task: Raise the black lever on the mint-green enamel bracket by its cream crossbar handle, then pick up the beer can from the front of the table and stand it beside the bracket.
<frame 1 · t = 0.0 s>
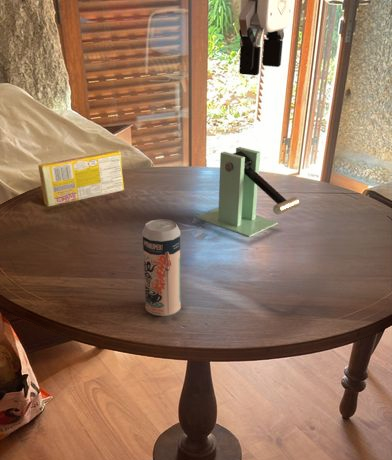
hand: (260, 70, 94), 24 cm above the table, tool pointing down, fingers open, 9 cm apart
candy box: (85, 202, 110), on the table
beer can: (163, 310, 77), on the table
bracket: (236, 225, 101), on the table
lever: (261, 183, 93), point 9 cm above the table, hinge at -25.0°
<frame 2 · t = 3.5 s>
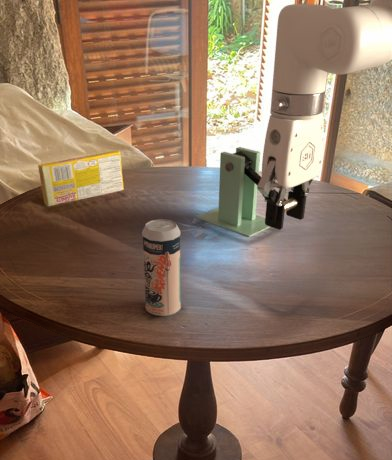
hand: (284, 220, 93), 4 cm above the table, tool pointing down, fingers closed on lever, 5 cm apart
lever: (261, 183, 93), point 9 cm above the table, hinge at -25.0°, touching gripper
everything else where it was.
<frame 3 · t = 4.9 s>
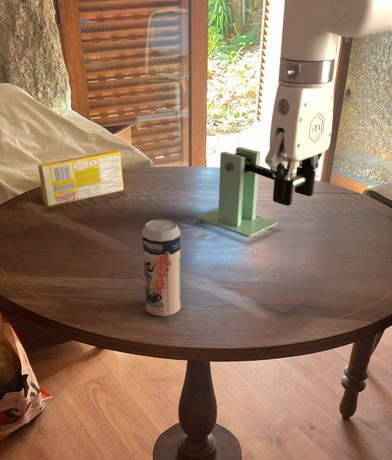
hand: (293, 197, 90), 8 cm above the table, tool pointing down, fingers closed on lever, 5 cm apart
lever: (264, 172, 92), point 11 cm above the table, hinge at -3.2°, touching gripper
everything else where it was.
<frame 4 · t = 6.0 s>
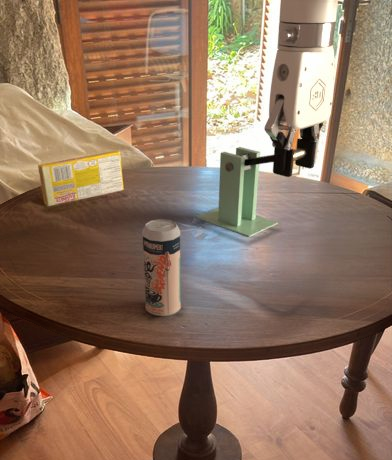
hand: (293, 169, 88), 12 cm above the table, tool pointing down, fingers closed on lever, 5 cm apart
lever: (264, 159, 91), point 13 cm above the table, hinge at 18.3°, touching gripper
everything else where it was.
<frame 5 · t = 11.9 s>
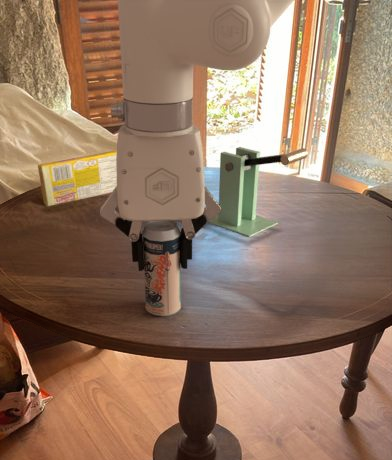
hand: (162, 263, 73), 7 cm above the table, tool pointing down, fingers closed on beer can, 4 cm apart
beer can: (163, 310, 77), on the table, touching gripper
lever: (264, 160, 91), point 13 cm above the table, hinge at 17.2°
everything else where it was.
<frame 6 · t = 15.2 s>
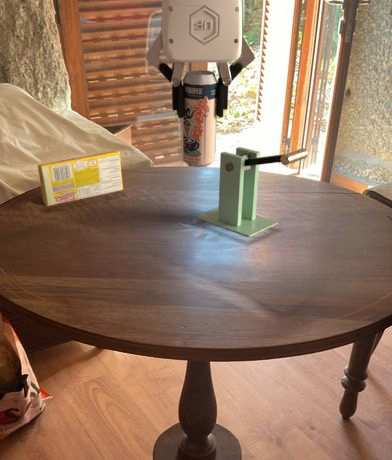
hand: (199, 114, 79), 21 cm above the table, tool pointing down, fingers closed on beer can, 4 cm apart
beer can: (198, 164, 83), point 14 cm above the table, touching gripper
everything else where it was.
when the fingers open (7 cm above the table, at t = 18.7 s): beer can stays where it is, on the table.
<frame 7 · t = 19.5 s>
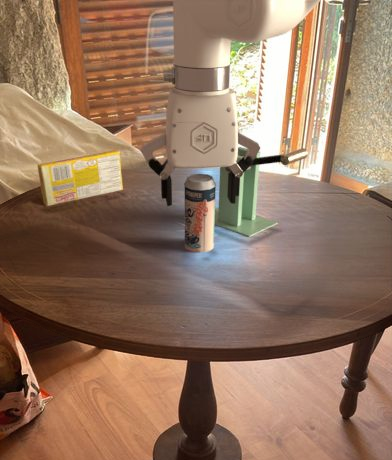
hand: (200, 201, 87), 8 cm above the table, tool pointing down, fingers open, 9 cm apart
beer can: (199, 252, 92), on the table
everything else where it was.
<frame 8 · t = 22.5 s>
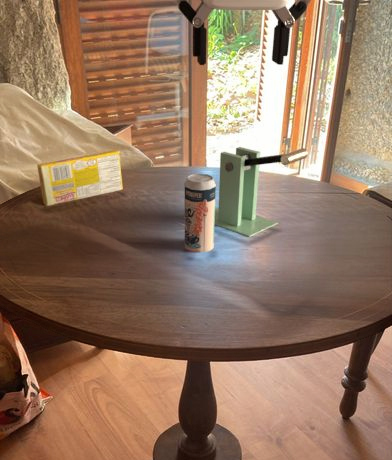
hand: (239, 63, 71), 28 cm above the table, tool pointing down, fingers open, 9 cm apart
nothing on the table moved.
at the end: lever at +17° (first picture: -25°); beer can 0.1 cm from the target spot on the table beside the bracket, on the table; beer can tilted 0° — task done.
